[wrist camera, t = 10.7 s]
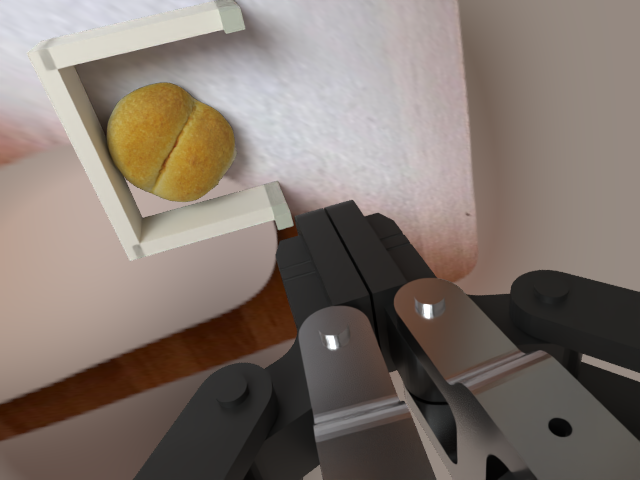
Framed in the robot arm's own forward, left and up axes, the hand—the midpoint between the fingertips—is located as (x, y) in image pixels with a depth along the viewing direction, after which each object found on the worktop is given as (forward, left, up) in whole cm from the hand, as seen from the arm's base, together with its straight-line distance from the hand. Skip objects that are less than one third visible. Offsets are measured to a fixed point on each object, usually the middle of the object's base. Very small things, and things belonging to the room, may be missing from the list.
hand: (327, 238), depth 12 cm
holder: (+5, -5, -27) cm, 28 cm away
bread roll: (+6, -6, -27) cm, 29 cm away
